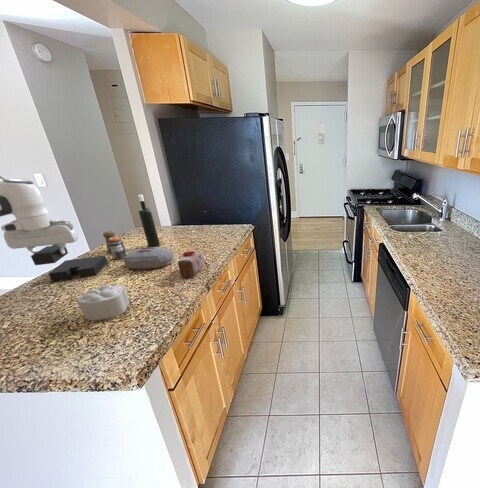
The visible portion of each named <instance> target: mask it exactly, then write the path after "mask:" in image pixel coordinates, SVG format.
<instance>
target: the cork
mask: <svg viewBox="0 0 480 488" xmlns="http://www.w3.org/2000/svg"><path fill="white" fill-rule="evenodd" d="M102 236H103V238H105V245H106V249H107V252H109V253H111V250H110V248H109V245H108V244H109V242H110V241H109V238H111V237H116V232H115V231H113V230H106V231H104V232H102Z"/></svg>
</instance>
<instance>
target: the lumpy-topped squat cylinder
mask: <svg viewBox="0 0 480 488" xmlns="http://www.w3.org/2000/svg"><path fill="white" fill-rule="evenodd" d="M76 300H77V304H78V305H79V308H80V310H81V312H82V315H83V317H84V319H86V320H89V321H101V320H107V319H111V318H115V317H118V316H120V315H122V314H124V313H126V311H127V308H128V307H129V306H130V304H131V302H130V299H129V296H128V293H127V289H126V287H125V286H124V285H121V284H120V285H110V284H103V285H101V286H99V287H97V288H92V289H89V290H87V291H86V292H85V293H82V294H81V295H79V296H78V297H77V299H76Z"/></svg>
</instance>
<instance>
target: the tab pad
mask: <svg viewBox="0 0 480 488" xmlns="http://www.w3.org/2000/svg"><path fill="white" fill-rule="evenodd" d="M60 247H61V246H60ZM60 247H59V246H58V244H55V245H46V246H45V247H43V248H42V249H40V250H37V251H38V252H37V253H35V254H34V253H32V254H31V256H30V258H31V259H32V262H33V264H34V266H40V265H41V266H42V265H50V264H55V263H57V262H59V260H61V259H63V257H65V256H67V255H68V254H69V252H68V249H67V246H66V245H65V248H64V250H65V253H64V254H58V250H59V249H60Z"/></svg>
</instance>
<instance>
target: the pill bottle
mask: <svg viewBox="0 0 480 488" xmlns="http://www.w3.org/2000/svg"><path fill="white" fill-rule="evenodd" d="M109 241H110V242H109V244H108V245H109V248H110V250H111V252H110V253H111V256H112V258H113V260H114V261H115V260H117V261H118V260H124V259H125V257H126V255H128V253H127V251H126V248H125V244H124V242H123V240H121V239H120V237H119V236H115V237H111V238H109Z"/></svg>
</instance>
